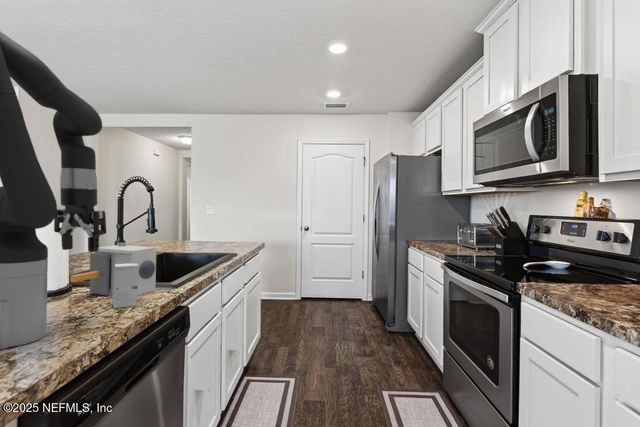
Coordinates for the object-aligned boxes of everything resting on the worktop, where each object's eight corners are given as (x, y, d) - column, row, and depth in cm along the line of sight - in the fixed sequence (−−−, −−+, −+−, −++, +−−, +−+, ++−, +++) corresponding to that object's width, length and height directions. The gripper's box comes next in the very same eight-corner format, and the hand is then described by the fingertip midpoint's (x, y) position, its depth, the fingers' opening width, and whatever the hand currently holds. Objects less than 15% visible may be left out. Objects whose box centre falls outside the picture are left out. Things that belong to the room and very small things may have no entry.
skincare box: (113, 308, 92) (114, 266, 92) (112, 304, 95) (113, 263, 95) (137, 305, 95) (138, 264, 95) (136, 301, 99) (137, 262, 99)
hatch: (80, 301, 96) (81, 258, 95) (63, 299, 98) (64, 256, 97) (108, 294, 104) (109, 254, 104) (92, 292, 106) (93, 252, 106)
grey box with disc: (130, 298, 102) (131, 248, 102) (91, 293, 107) (92, 244, 107) (157, 290, 112) (158, 244, 112) (119, 286, 117) (120, 242, 117)
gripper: (42, 186, 80) (43, 251, 81) (87, 187, 77) (88, 254, 77) (72, 187, 87) (73, 246, 88) (114, 188, 84) (115, 250, 85)
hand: (80, 250), depth 83 cm, fingers open, 8 cm apart
